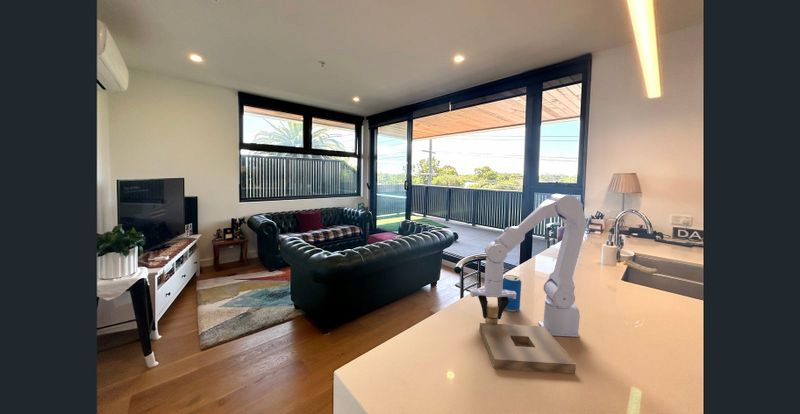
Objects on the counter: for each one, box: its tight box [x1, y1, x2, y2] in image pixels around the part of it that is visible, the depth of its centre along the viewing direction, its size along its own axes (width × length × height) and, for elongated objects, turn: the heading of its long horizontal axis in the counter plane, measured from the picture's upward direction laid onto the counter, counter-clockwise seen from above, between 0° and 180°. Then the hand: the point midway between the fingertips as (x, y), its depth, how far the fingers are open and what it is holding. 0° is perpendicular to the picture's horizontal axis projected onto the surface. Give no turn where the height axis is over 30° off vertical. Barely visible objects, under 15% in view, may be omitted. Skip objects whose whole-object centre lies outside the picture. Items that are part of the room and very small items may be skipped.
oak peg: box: [484, 303, 499, 324], centre depth 94 cm, size 4×4×6 cm
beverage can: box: [502, 274, 522, 312], centre depth 105 cm, size 6×6×12 cm
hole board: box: [478, 322, 577, 375], centre depth 80 cm, size 20×18×2 cm
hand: (491, 317), depth 94 cm, fingers closed on oak peg, 4 cm apart
